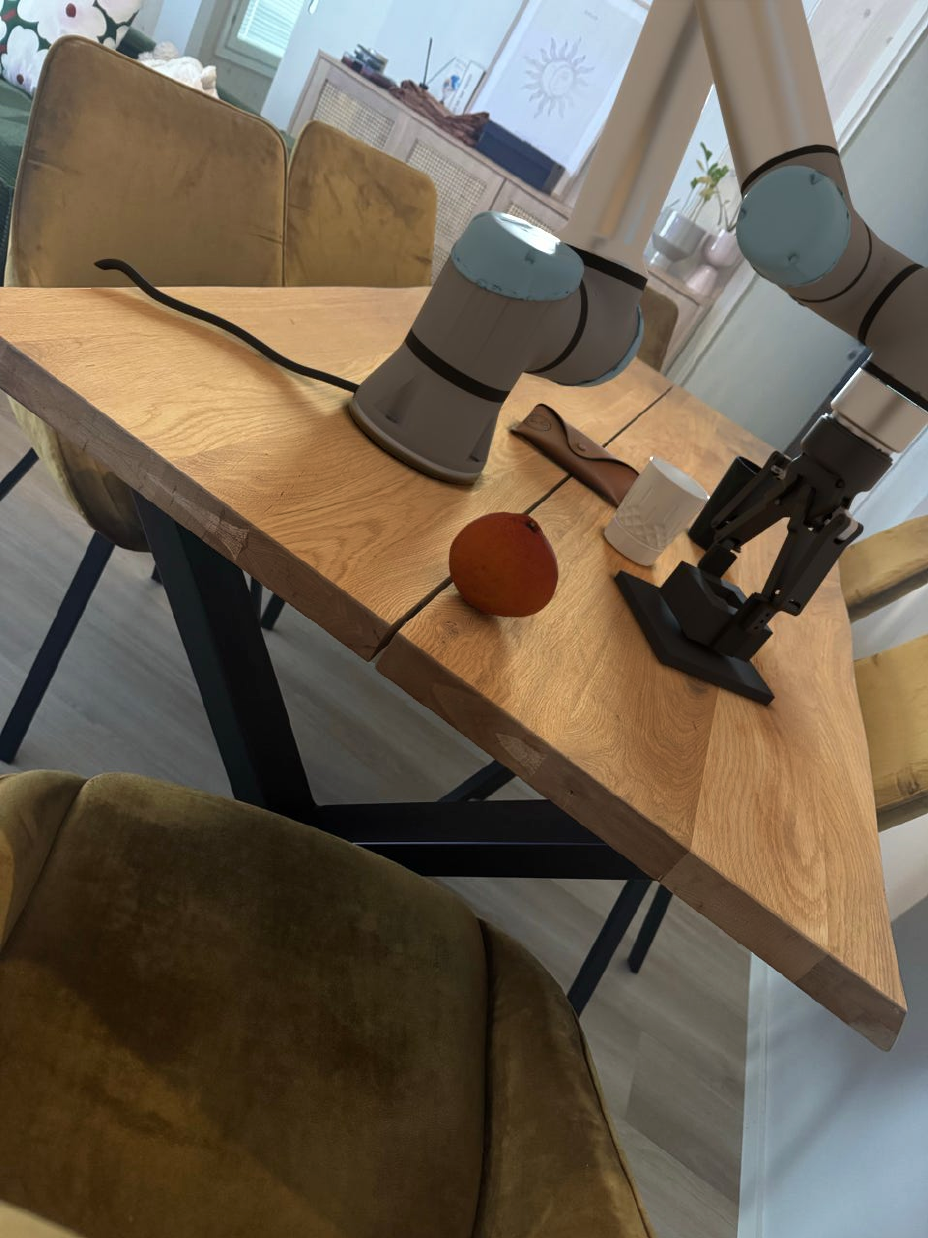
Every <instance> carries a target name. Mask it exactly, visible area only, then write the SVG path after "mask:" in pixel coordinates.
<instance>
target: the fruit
mask: <svg viewBox="0 0 928 1238" xmlns="http://www.w3.org/2000/svg"><path fill="white" fill-rule="evenodd" d="M448 570H449V571H448V572H449V575H450V579H451V581H452V584H453V586H454V587H455V589H456V591H457V592H458V593H459V594H460V596H461V597H462V599H463V600H464V601H466V603H468V604H469V605H470V606H472V607H473V608H475V609H477V610H478V611H480V612H482V613H485V614H487V615H491V616H496V617H502V618H526V617H530V616H532V615H536V614H538V613H539V612H541V611H542V610H544V609H545V608H546V607H547V606H548V605H549V604H550V602H551V600H552V598H553V597H554V595H555V592H556V591H557V590H556V589H557V586H558V582H559V575H560V574H559V573H560V572H559V563H558V560H557V556H556V553H555V550H554V548H553V546H552V544H551V542H550V540H549V539H548V538H547V536H546V535H545V533H544V531H543V529H542V527H541V526H540V525H539V522H537V521H536V519H534V518H533V517H531V516H530V515H529V514H526V513H522V512H517V513H516V512H510V511H495V512H489V513H487V514H484V515H481V516H479V517H477V518H475V519H473V520H472V521H471V522H469V523H467V524H466V525H465V526H464V527H463V528H462V529H461V530H460V531H459V532H458V533H457V535H456V536H455V537H454V539H453V540H452V542H451V544H450V547H449V552H448Z"/></svg>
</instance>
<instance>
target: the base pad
mask: <svg viewBox="0 0 928 1238" xmlns="http://www.w3.org/2000/svg"><path fill="white" fill-rule="evenodd" d="M613 580H614V582H615V583H616V585H617V587H618V589H619V590H620V592H621V594H622V596H623V598H624V599H625V601H626V603H627V605H628V607H629V608H630V610H631V612H632V614H633V616H634V617H635V619H636V621H637V623H638V624H639V626H640V628H641V630H642V632H643V634H644V635H645V637H646V639H647V640H648V642H649V644H650V646H651V648H652V649H653V651H654V653H655V655H656V656H657V659H658V660H659V663H661V664H664V665H666V666H669V667H671V668H674V669H676V670H679V671H681V672H684V673H685V674H688V675H691V676H693V677H696V678H698V679H701V680H703V681H706V682H708V683H710V684H713V685H716V686H718V687H720V688H723V689H725V690H727V691H731V692H733V693H736V694H738V695H740V696H743V697H745V698H748V699H750V700H753V701H754V702H757V703H760V704H762V705H765V706H769V705H770V704H771V703H772V702H773V701H774V700H775V699H776V696H775V694H774V693H773V691H772V690H771V688H770V687H769V685H768V684H767V683H766V681H765V680H764V678H763V677H762V675H761V674H760V672H759V671H758V669H757V668H756V666H755V665H754V663H753V662H752V660H751V659H750V660H749V662H748V663H746V662H744V661H742V660H739V659H737V658H735V657H733V658H732V657H729V656H727V655H724V654H722V653H720V652H717V651H715V650H713V649H711V647H709V646H706V645H704V644H702V643H699V642H697V641H695V640H692V639H690V638H688V637H687V636H686V634H685V633H684V631H683V630H682V628H681V626H680V625H679V623H678V622H677V620H676V618H675V617H674V615H673V614H672V612H671V610H670V609H669V607H668V606H667V604H666V602H665V601H664V599H663V598H662V596H661V595H660V593H659V591H658V590H659V589H660V587H661V586H658V585H655V584H654V583H651V582H648V581H646V580H644V579H642V578H640V577H638V576H635V575H633V574H631V573H629V572H626V571H624V570H622V569H619V570H618V572H617V573H616V574H615V576H613ZM717 598H718V599H719V601H720V602H723V603H725V604H727V605H728V603H727V602H726V600H725V599H723V598H721V597H718V596H717Z"/></svg>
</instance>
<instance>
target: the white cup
mask: <svg viewBox="0 0 928 1238" xmlns="http://www.w3.org/2000/svg"><path fill="white" fill-rule="evenodd" d="M639 474H640V475H639V476H638V478H637V479H636V481H635V482H634V484H633V485H632V487H631V488H630V490H629V491H628V493H627V495H626V496H625V498H624V499H623V501H622V502H621V504H620V506H618V507H617V508H616V510H615V513H614V515H613V516H612V518H610V521H609V523H607V525H606V527H605V528H604V531H603V535H604V537H605V539H606V540H607V542H608V543H609V544H610V545H611V546H612V547H613V548H614V549H615V550H616V551H617V552H618V553H620V555H623V556H624V557H625V558H627V559H629V560H630V561H632V562H634V563H636V564H638V565H641V566H644V567H649V566H653V565H654V563H655V562H657V560H658V559H659V557H660V556H661V555H662V554H663V553H664V551H665V550H666V549H668V548H669V546H671V545H672V543H673V542H674V541H675V540H676V538H678V537H679V536H680V534H681V533H682V532H683V531H684V530H685V529H686V527H687V526H688V525H689V524H690V523H691V522H692V521H693V520H694V518H695V517H696V516H697V515H698V513H700V512H701V510H702V509H703V507H704V506H705V504H706V503H707V502H708V500H709V499H710V495H709V493H708V492H707V491H706V490H705V488H703V486H701V484H699V482H697V481H696V480H695V479H694V478H693V477H691V476H690V475H689V474H688V473H686V472H685V471H683V470H682V469H680V468H679V467H678V466H675V465H674V464H673V463H671V462H669V461H666V460H665V459H663V458H660V457H657V456H651V457H650V458H649V459H648V461H647V463H646V464H645V466H644V467H643V468H642V470H641V472H639Z"/></svg>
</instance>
